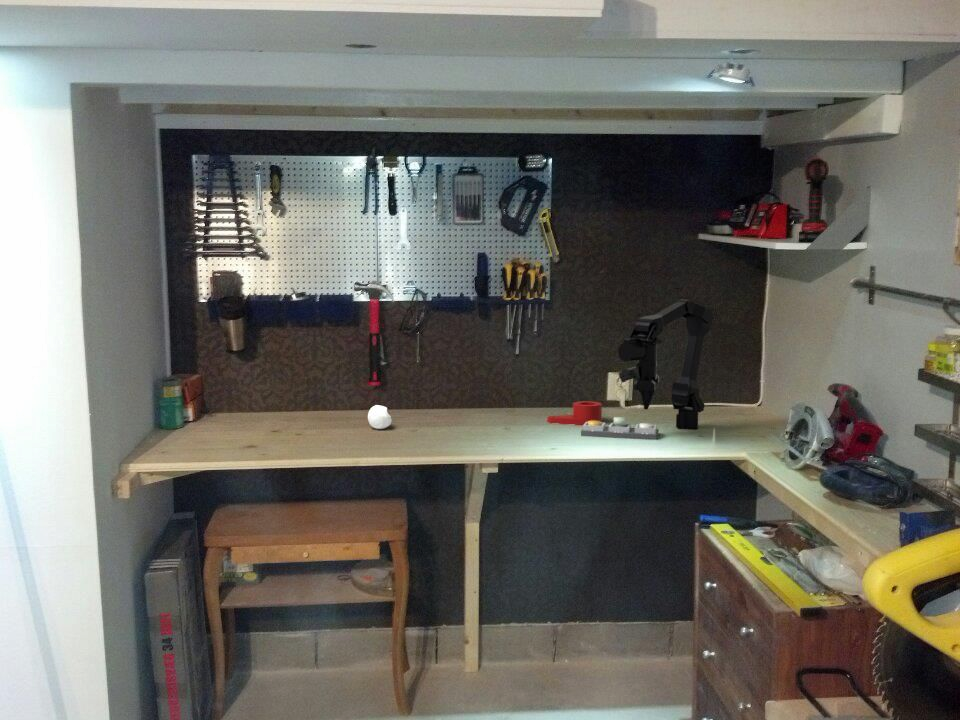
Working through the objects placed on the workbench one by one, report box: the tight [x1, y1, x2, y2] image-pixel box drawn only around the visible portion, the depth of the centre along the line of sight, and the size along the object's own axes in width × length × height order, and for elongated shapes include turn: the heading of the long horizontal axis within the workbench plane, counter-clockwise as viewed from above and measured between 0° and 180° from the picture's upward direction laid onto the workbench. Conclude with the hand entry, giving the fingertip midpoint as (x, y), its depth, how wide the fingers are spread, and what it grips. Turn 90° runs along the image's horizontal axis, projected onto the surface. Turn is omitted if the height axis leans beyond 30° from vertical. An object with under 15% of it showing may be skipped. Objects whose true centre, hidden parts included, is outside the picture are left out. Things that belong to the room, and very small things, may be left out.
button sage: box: [613, 416, 628, 426], centre depth 291 cm, size 4×4×2 cm
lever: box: [546, 400, 603, 426], centre depth 310 cm, size 18×9×7 cm, turn 90°
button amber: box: [588, 420, 602, 426], centre depth 293 cm, size 4×4×2 cm
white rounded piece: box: [367, 404, 392, 430], centre depth 300 cm, size 8×8×8 cm
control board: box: [580, 421, 659, 441], centre depth 291 cm, size 23×9×3 cm, turn 75°
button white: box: [638, 422, 654, 428], centre depth 289 cm, size 4×4×2 cm
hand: (646, 409), depth 288 cm, fingers closed
